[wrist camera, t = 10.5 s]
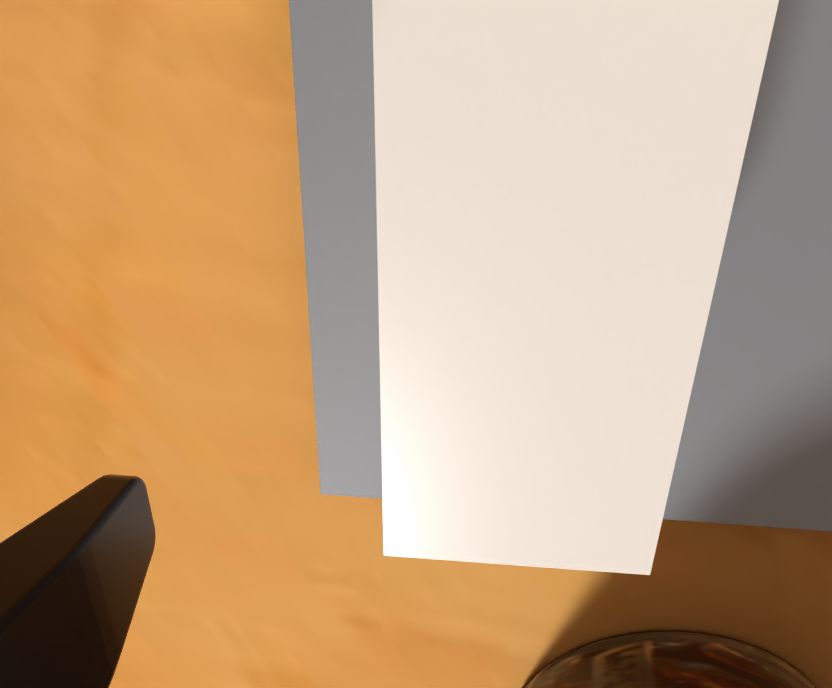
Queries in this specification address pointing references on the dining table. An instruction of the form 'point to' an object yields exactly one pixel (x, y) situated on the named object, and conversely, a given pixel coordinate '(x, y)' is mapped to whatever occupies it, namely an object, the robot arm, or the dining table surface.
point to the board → (729, 312)
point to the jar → (669, 664)
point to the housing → (549, 263)
